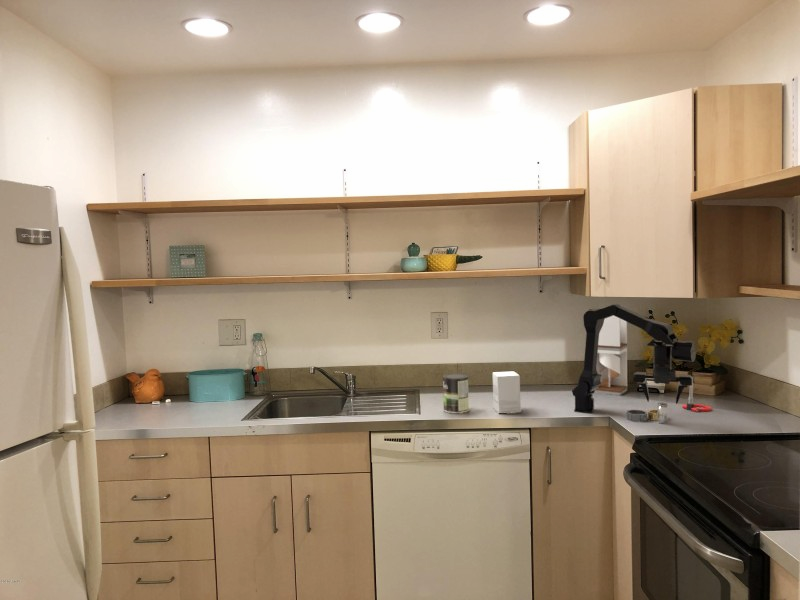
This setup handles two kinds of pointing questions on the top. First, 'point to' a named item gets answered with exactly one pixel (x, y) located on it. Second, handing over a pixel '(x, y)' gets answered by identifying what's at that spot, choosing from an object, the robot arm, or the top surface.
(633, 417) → the wide steel socket
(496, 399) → the supplement box
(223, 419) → the top surface
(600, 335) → the spiral ramp tower
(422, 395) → the top surface
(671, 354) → the robot arm
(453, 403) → the coffee can
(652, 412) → the small brass socket
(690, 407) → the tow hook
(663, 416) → the round-tipped metal peg
